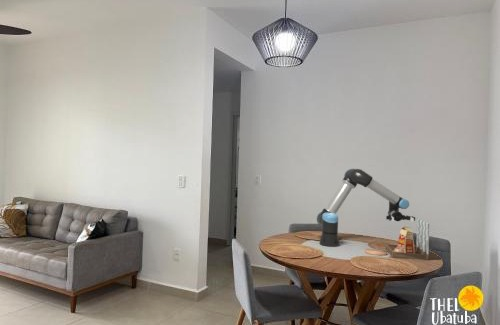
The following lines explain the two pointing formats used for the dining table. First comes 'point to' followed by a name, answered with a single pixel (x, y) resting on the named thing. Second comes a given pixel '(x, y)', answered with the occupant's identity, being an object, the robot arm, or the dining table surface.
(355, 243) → the dining table surface
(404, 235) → the milk carton
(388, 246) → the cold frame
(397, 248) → the peach rounded knob
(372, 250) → the tan round dome
